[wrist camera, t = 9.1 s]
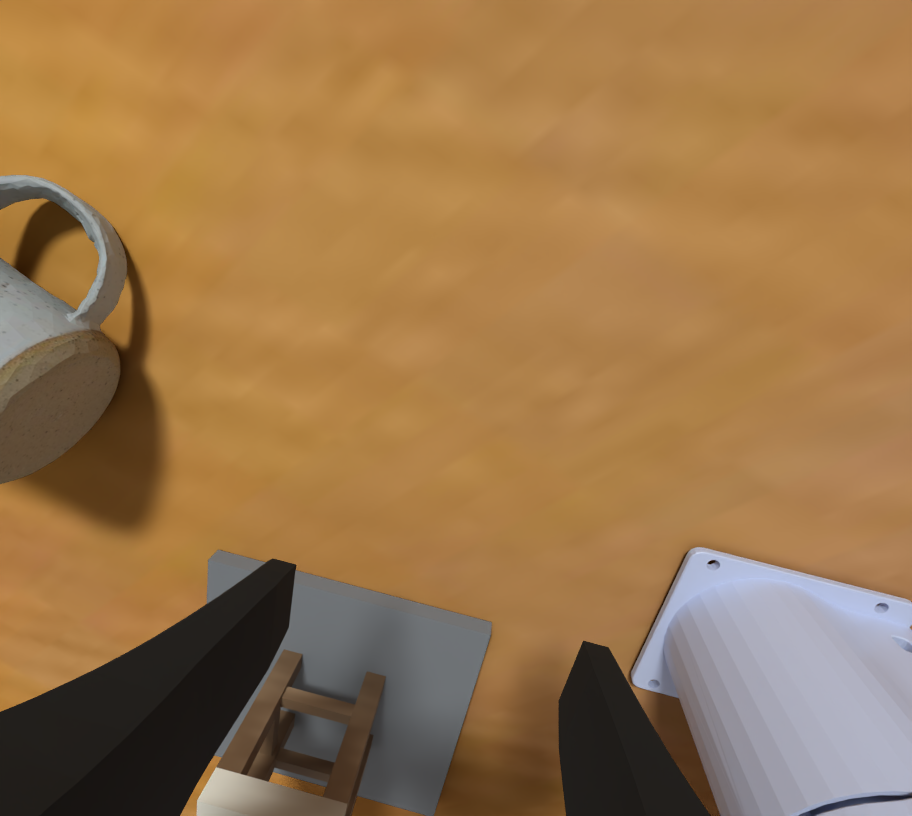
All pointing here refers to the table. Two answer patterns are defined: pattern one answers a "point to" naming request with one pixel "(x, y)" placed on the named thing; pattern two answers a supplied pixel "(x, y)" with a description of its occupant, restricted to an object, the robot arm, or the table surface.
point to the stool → (262, 749)
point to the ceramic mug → (54, 344)
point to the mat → (381, 652)
